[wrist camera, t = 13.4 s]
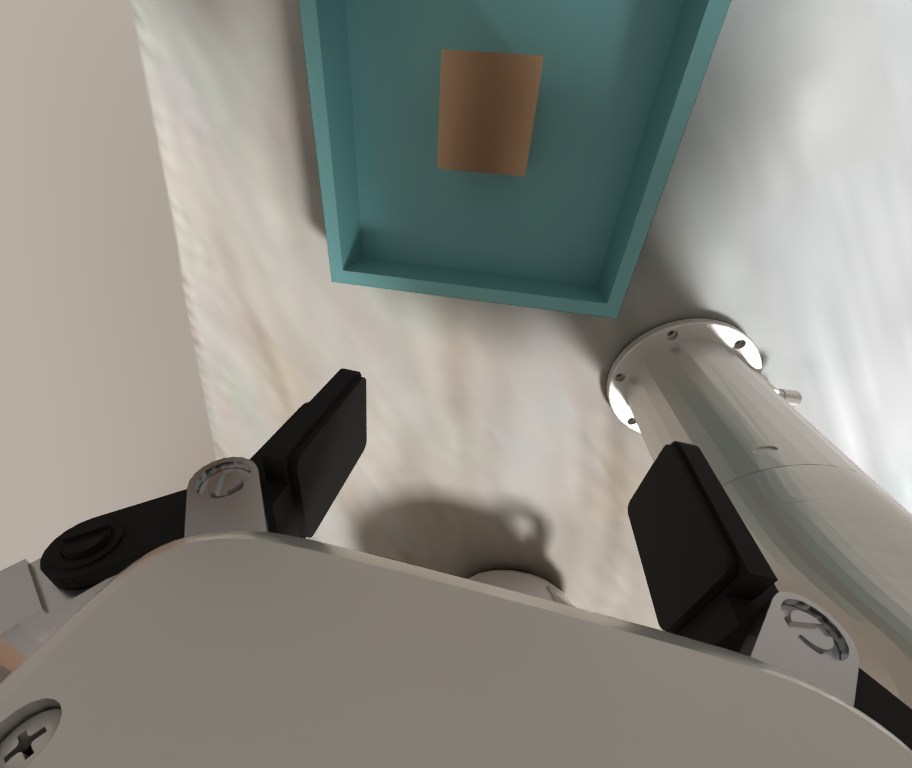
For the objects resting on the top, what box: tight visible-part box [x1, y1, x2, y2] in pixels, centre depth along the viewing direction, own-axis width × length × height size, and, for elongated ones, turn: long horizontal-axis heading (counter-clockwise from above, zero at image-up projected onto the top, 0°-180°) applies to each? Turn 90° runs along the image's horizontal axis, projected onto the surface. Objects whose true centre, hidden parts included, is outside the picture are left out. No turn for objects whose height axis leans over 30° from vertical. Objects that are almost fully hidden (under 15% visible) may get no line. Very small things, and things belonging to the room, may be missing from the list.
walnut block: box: [437, 49, 544, 177], centre depth 21 cm, size 5×5×7 cm
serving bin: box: [298, 0, 731, 319], centre depth 23 cm, size 22×22×5 cm
